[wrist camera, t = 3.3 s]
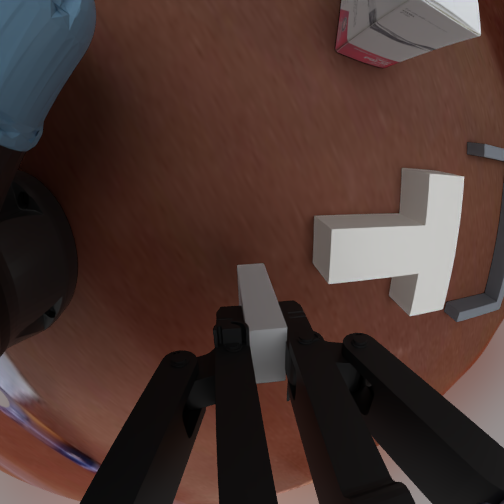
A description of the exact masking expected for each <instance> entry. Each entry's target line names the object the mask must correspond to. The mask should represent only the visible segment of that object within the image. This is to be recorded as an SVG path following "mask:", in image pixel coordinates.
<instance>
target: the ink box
mask: <svg viewBox="0 0 504 504" xmlns="http://www.w3.org/2000/svg"><path fill="white" fill-rule="evenodd" d="M480 35H481V28H480V17H479V7H478V0H341V8H340V17H339V25H338V33H337V40H336V47H335V49H336V51H337V52H338V53H340V54H343V55H345V56H348V57H350V58H353V59H355V60H358V61H361V62H364V63H367V64H370V65H373V66H377V67H381V68H386V67H389V66H391V65H394V64H396V63H399V62H402V61H404V60H407V59H410V58H412V57H415V56H418V55H421V54H424V53H427V52H429V51H432V50H435V49H438V48H441V47H444V46H447V45H451V44H454V43H457V42H460V41H464V40H467V39H471V38H474V37H478V36H480Z"/></svg>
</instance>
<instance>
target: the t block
mask: <svg viewBox="0 0 504 504" xmlns="http://www.w3.org/2000/svg"><path fill="white" fill-rule="evenodd" d="M463 187H464V177H463V176H459V175H454V174H450V173H445V172H440V171H435V170H424V169H411V168H402V178H401V197H400V211H399V213H393V214H351V215H322V216H314V242H313V264H314V266H315V267H316V268H317V270H318V271H319V272H320V273H321V275H322V276H323V277H324V279H325V280H326V281H327V283H328V284H334V283H343V282H353V281H362V280H371V279H379V278H388V277H392V279H391V286H390V292H389V296H390V297H391V298H392V299H393V300H394V301H395V302H396V303H397V304H398V305H399V306H400V307H401V308H402V309H403V310H404V311H405V312H406V313H407V314H408V315H409V316H413V315H418V314H423V313H428V312H432V311H437V310H441V309H443V306H444V302H445V298H446V294H447V290H448V286H449V281H450V277H451V272H452V267H453V262H454V257H455V251H456V245H457V239H458V232H459V225H460V217H461V208H462V199H463Z"/></svg>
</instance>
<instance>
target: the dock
mask: <svg viewBox="0 0 504 504" xmlns="http://www.w3.org/2000/svg"><path fill="white" fill-rule="evenodd" d="M467 154H470V155H475V156H480V157H485V158H490V159H495V160H500V161H504V149H502V148H498V147H494V146H490V145H486V144H480V143H471V142H467ZM503 296H504V185H503V196H502V205H501V213H500V221H499V227H498V233H497V239H496V245H495V250H494V255H493V260H492V264H491V269H490V273H489V277H488V281H487V285H486V289H485V293H483V294H479V295H474V296H470V297H466V298H462V299H457V300H453V301H448V302H446V306H445V310H444V312H446V313H447V314H448V315H449V316H450V317H451V318H452V319H454V320H455V321H456V322H459V321H463V320H466V319H469V318H473V317H476V316H479V315H482V314H486V313H489V312H492V311H495V310H498V309H500V306H501V302H502V299H503Z"/></svg>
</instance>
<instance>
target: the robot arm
mask: <svg viewBox="0 0 504 504" xmlns="http://www.w3.org/2000/svg"><path fill="white" fill-rule="evenodd" d="M95 25H96V8H95V3H94V0H0V357H1V355H2V354H3V353H4V352H5V350H6V349H7V348H9V347H11V346H13V345H15V344H17V343H19V342H21V341H23V340H25V339H27V338H29V337H31V336H33V335H36V334H38V333H40V332H42V331H44V330H46V329H47V328H48V327H50V326H51V325H52V324H53V323H54V322H55V321H56V320H57V319H58V318H59V316H60V315H61V314H62V312H63V311H64V310H65V309H66V307H67V306H68V304H69V303H70V301H71V299H72V296H73V294H74V290H75V286H76V281H77V267H78V265H77V253H76V247H75V242H74V238H73V234H72V231H71V228H70V225H69V223H68V220H67V218H66V216H65V214H64V212H63V210H62V208H61V206H60V205H59V203H58V202H57V200H56V199H55V197H54V196H53V195H52V193H51V192H50V191H49V190H48V189H47V188H46V187H45V186H44V185H43V184H42V183H41V182H40V181H39V180H37V179H36V178H34V177H33V176H31V175H30V174H28V173H25V172H23V171H20V170H18V167H19V165H20V163H21V161H22V159H23V157H24V155H25V153H26V151H28V150H30V149H31V148H33V147H35V146H36V144H37V143H38V141H39V139H40V138H41V136H42V133H43V124H44V122H43V121H44V119H45V117H46V116H47V114H48V112H49V110H50V108H51V107H52V105H53V103H54V101H55V99H56V98H57V96H58V94H59V93H60V91H61V89H62V88H63V86H64V84H65V83H66V81H67V80H68V78H69V77H70V75H71V73H72V72H73V70H74V69H75V67H76V66H77V64H78V63H79V62H80V60H81V59H82V57H83V56H84V54H85V52H86V51H87V49H88V47H89V45H90V42H91V40H92V38H93V34H94V30H95ZM237 275H238V293H239V306H228V307H220V309H219V310H218V311H217V313H216V325H215V326H214V328H213V335H214V343H215V348H214V349H213V350H212V351H211V352H210V353H208V354H206V355H203V356H200V357H196V356H195V355H194V354H193V353H191V352H188V351H175V352H171V353H169V354H168V355H166V356H165V357H164V358H163V360H162V361H161V363H160V365H159V366H158V368H157V370H156V371H155V373H154V375H153V376H152V378H151V380H150V381H149V383H148V385H147V386H146V388H145V390H144V392H143V393H142V395H141V397H140V398H139V400H138V402H137V403H136V405H135V407H134V409H133V410H132V412H131V414H130V415H129V417H128V419H127V421H126V422H125V424H124V426H123V427H122V429H121V431H120V433H119V434H118V436H117V438H116V440H115V441H114V443H113V445H112V447H111V448H110V450H109V452H108V454H107V455H106V457H105V459H104V461H103V462H102V464H101V466H100V468H99V470H98V471H97V473H96V475H95V477H94V478H93V480H92V482H91V484H90V486H89V487H88V489H87V491H86V493H85V495H84V496H83V498H82V500H81V502H80V504H172V503H173V501H174V498H175V495H176V492H177V490H178V487H179V484H180V481H181V478H182V476H183V473H184V470H185V467H186V464H187V462H188V459H189V456H190V453H191V450H192V448H193V445H194V442H195V439H196V436H197V434H198V431H199V428H200V425H201V422H202V419H203V417H204V414H205V411H206V407H207V406H210V405H214V404H216V439H217V466H218V488H219V504H278V502H277V496H276V491H275V486H274V480H273V475H272V470H271V464H270V459H269V453H268V448H267V442H266V437H265V431H264V425H263V420H262V414H261V408H260V402H259V397H258V391H257V385H256V383H266V382H276V381H284V380H285V377H286V375H287V378H288V386H287V401H289V400H291V403H292V407H293V411H294V414H295V418H296V421H297V425H298V429H299V432H300V436H301V440H302V443H303V447H304V450H305V454H306V458H307V461H308V465H309V468H310V472H311V476H312V479H313V483H314V486H315V490H316V494H317V497H318V501H319V504H415V502H414V500H413V498H412V496H411V493H410V491H409V490H408V488H407V487H406V485H404V484H403V483H402V482H395V481H393V480H392V478H391V476H390V474H389V472H388V470H387V468H386V466H385V464H384V461H383V459H382V457H381V455H380V453H379V451H378V449H377V447H376V445H375V442H374V440H373V438H374V439H375V440H376V441H377V442H378V443H379V445H380V446H381V447H382V448H383V449H384V450H385V451H386V452H387V454H388V455H389V456H390V457H391V458H392V459H393V460H394V462H395V463H396V464H397V465H398V466H399V467H400V468H401V469H402V471H403V472H404V473H405V474H406V475H407V476H408V477H409V478H410V480H411V481H412V482H413V483H414V484H415V485H416V486H417V487H418V488H419V489H420V491H421V492H422V493H423V494H424V495H425V496H426V497H427V498H428V499H429V501H431V503H432V504H504V448H503V447H502V446H500V445H499V444H498V443H497V442H496V441H495V440H493V439H492V438H491V437H490V436H489V435H488V434H486V433H485V432H484V431H483V430H482V429H481V428H479V427H478V426H477V425H476V424H475V423H474V422H472V421H471V420H470V419H469V418H468V417H467V416H465V415H464V414H463V413H462V412H461V411H460V410H458V409H457V408H456V407H455V406H453V405H452V404H451V403H450V402H449V401H448V400H446V399H445V398H444V397H443V396H442V395H441V394H439V393H438V392H437V391H436V390H435V389H433V388H432V387H431V386H430V385H429V384H428V383H426V382H425V381H424V380H423V379H422V378H420V377H419V376H418V375H417V374H416V373H414V372H413V371H412V370H411V369H410V368H408V367H407V366H406V365H405V364H404V363H402V362H401V361H400V360H399V359H398V358H396V357H395V356H394V355H393V354H392V353H390V352H389V351H388V350H387V349H386V348H384V347H383V346H382V345H381V344H380V343H378V342H377V341H376V340H375V339H374V338H372V337H371V336H369V335H367V334H363V333H353V334H349V335H347V336H346V337H345V338H344V339H343V343H335V342H327V341H324V339H323V337H322V336H321V335H320V334H319V333H317V332H315V331H313V330H312V328H311V325H310V323H309V321H308V319H307V317H306V315H305V313H304V312H303V309H302V307H301V305H300V304H298V303H297V302H295V301H294V300H293V301H282V302H278V301H277V298H276V295H275V292H274V290H273V287H272V284H271V282H270V279H269V276H268V273H267V271H266V268H265V265H264V263H260V264H245V265H237ZM371 435H372V436H371ZM372 437H373V438H372Z"/></svg>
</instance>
